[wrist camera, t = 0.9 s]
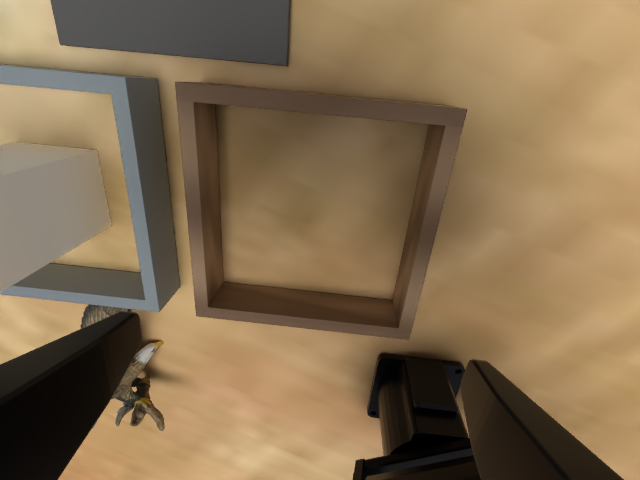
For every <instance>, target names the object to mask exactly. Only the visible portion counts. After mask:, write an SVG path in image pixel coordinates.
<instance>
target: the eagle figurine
mask: <svg viewBox="0 0 640 480" xmlns="http://www.w3.org/2000/svg"><path fill="white" fill-rule="evenodd" d="M121 311H128V309H127V308H118V307H109V306H100V305H91V304H89V307H88V306H87V307H86V308H85V311H84V316H83V317H82V324H81V329H82V328H84V327H87V326H89V325H91V324H93V323H96V322H98V321H100V320H102V319H105V318H107V317H109V316H111V315H114V314H116V313H118V312H121ZM162 344H164V343H163V341H158V342H156V343H149V344H147V345H146V346H145V347H144V348H142V349H141V350H140V351H139V352H138V353H136V354H135V356H134V358H133V360H132V362H131V364H130V365H129V367H128V369H127V371H126V373H125V375H124V377H123V379H122V380H121V382H120V384H119V386H118V388H117V390H116V392H115V393H114V395H113V397H112V398H111V399H113V398H116V399H118V400H120V401H122V402H124V403H123V405H125V406H124V407H122V408H120V409H119V410H118V415H117V418H116V425H117V426H119V424H120V422H121V419H122V418H123V416H124V415H125V414H126V413H128V412H129V411H130V410H132V409H133V408H134V407H135V408H134V411H133V413H132V419H131V424H130V425H131V426H137V425H138V424H140V423H141V421H142V420H143V418H144V416H145V414H146V413H148V414H149V415H150V416H151V417H152V418H153V419H154V420H155V422H156V423H157V427H158V428H159V430H161V431H163V430H164V418H163V415H162V414H161V412H160V411H159V410H158V409H156V408H155V407H154V405H153V404H152V401H151V400H150V396H149V388H150V380H149V377H148V376H145V377H144V378H142V379H140V378H137V376H138V375H139V374H140V373H141V371H142V370H143V369H144V367H145V365H146V364H147V362H148V361H149V359H150V358H151V356H152V355H153V354H154V353H155V351H156V350H157V348H158V347H159V346H160V345H162ZM131 387H137V391H136V392H134V391H133V390H132V388H131ZM96 422H97V421H96ZM95 424H96V423H95ZM95 424H94V425H95ZM93 427H94V426H93ZM93 427H92V428H93Z"/></svg>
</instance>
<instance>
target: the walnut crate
mask: <svg viewBox="0 0 640 480" xmlns="http://www.w3.org/2000/svg"><path fill="white" fill-rule="evenodd" d="M175 86H176V97H177V108H178V120H179V131H180V142H181V153H182V164H183V175H184V186H185V197H186V208H187V219H188V230H189V241H190V252H191V263H192V275H193V286H194V297H195V308H196V316H199V317H208V318H217V319H226V320H235V321H244V322H253V323H262V324H271V325H280V326H289V327H298V328H307V329H316V330H325V331H334V332H343V333H352V334H361V335H369V336H378V337H387V338H396V339H405V340H409V338H410V335H411V331H412V327H413V323H414V319H415V315H416V311H417V307H418V303H419V299H420V295H421V291H422V287H423V283H424V279H425V275H426V271H427V267H428V263H429V259H430V255H431V251H432V247H433V243H434V239H435V235H436V231H437V227H438V223H439V220H440V216H441V212H442V208H443V204H444V200H445V196H446V192H447V188H448V184H449V180H450V176H451V172H452V168H453V164H454V160H455V156H456V152H457V148H458V144H459V140H460V136H461V132H462V128H463V124H464V120H465V116H466V112H467V109H464V108H459V107H454V106H448V105H437V104H427V103H416V102H405V101H394V100H384V99H373V98H362V97H351V96H341V95H330V94H319V93H309V92H298V91H287V90H276V89H266V88H255V87H244V86H233V85H223V84H212V83H201V82H175ZM215 104H221V105H231V106H242V107H252V108H263V109H273V110H284V111H294V112H305V113H316V114H326V115H337V116H347V117H358V118H368V119H379V120H390V121H400V122H411V123H421V124H430V125H429V130H428V135H427V140H426V144H425V149H424V154H423V158H422V163H421V168H420V173H419V177H418V182H417V187H416V192H415V196H414V201H413V206H412V210H411V215H410V220H409V225H408V229H407V234H406V239H405V244H404V248H403V253H402V258H401V263H400V267H399V272H398V277H397V281H396V286H395V291H394V296H393V300H385V299H376V298H367V297H357V296H348V295H339V294H330V293H320V292H311V291H302V290H293V289H284V288H274V287H265V286H256V285H247V284H237V283H228V282H223V260H222V238H221V216H220V194H219V171H218V149H217V127H216V105H215Z"/></svg>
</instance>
